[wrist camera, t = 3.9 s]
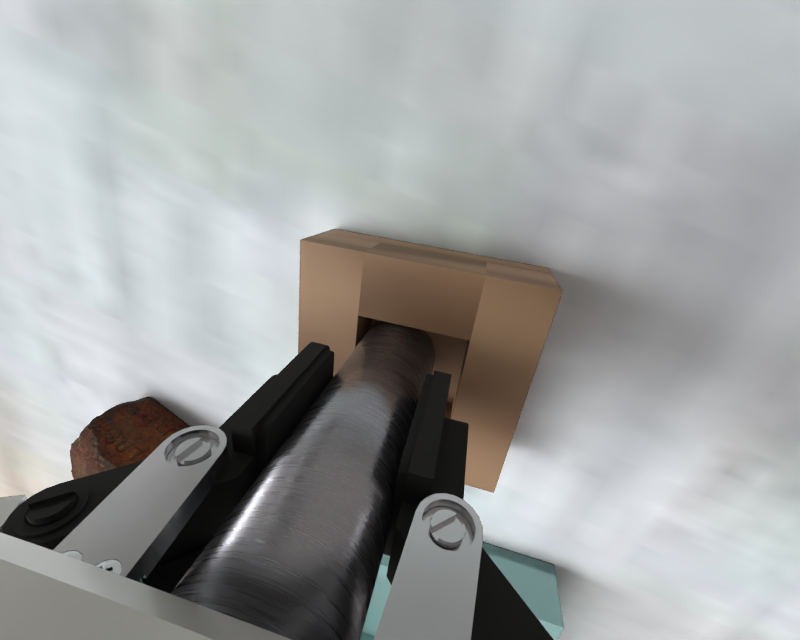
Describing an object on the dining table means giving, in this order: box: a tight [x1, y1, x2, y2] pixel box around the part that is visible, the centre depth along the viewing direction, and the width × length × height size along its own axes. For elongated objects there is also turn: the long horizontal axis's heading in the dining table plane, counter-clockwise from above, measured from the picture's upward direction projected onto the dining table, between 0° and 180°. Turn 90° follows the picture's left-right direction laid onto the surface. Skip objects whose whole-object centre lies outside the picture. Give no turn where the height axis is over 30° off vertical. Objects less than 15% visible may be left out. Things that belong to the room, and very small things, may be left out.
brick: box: [70, 397, 190, 480], centre depth 21 cm, size 11×4×5 cm, turn 53°
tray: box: [360, 542, 564, 640], centre depth 22 cm, size 13×13×3 cm
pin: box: [171, 321, 436, 640], centre depth 9 cm, size 3×3×10 cm
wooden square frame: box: [298, 229, 563, 493], centre depth 15 cm, size 9×9×3 cm
